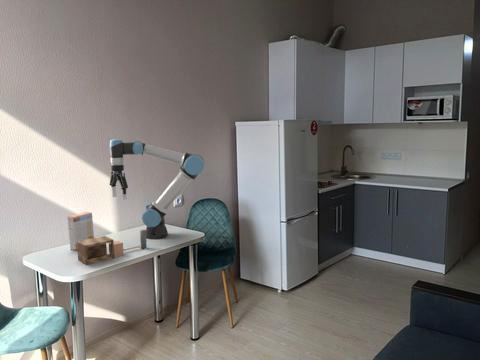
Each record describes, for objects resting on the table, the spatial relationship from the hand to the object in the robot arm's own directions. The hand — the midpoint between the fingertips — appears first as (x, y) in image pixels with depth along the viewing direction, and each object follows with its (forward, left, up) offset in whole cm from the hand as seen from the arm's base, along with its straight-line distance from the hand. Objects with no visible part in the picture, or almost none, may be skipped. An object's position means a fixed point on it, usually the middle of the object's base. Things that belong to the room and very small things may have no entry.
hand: (119, 198), depth 264 cm
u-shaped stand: (+5, +21, -29) cm, 36 cm away
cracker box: (+22, -8, -29) cm, 37 cm away
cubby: (+25, +21, -29) cm, 43 cm away
